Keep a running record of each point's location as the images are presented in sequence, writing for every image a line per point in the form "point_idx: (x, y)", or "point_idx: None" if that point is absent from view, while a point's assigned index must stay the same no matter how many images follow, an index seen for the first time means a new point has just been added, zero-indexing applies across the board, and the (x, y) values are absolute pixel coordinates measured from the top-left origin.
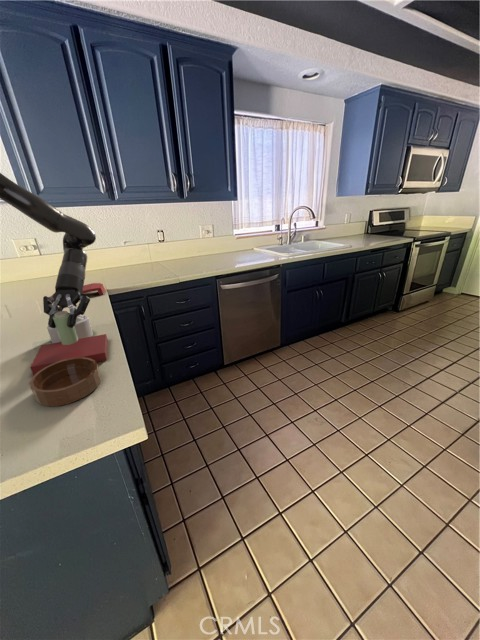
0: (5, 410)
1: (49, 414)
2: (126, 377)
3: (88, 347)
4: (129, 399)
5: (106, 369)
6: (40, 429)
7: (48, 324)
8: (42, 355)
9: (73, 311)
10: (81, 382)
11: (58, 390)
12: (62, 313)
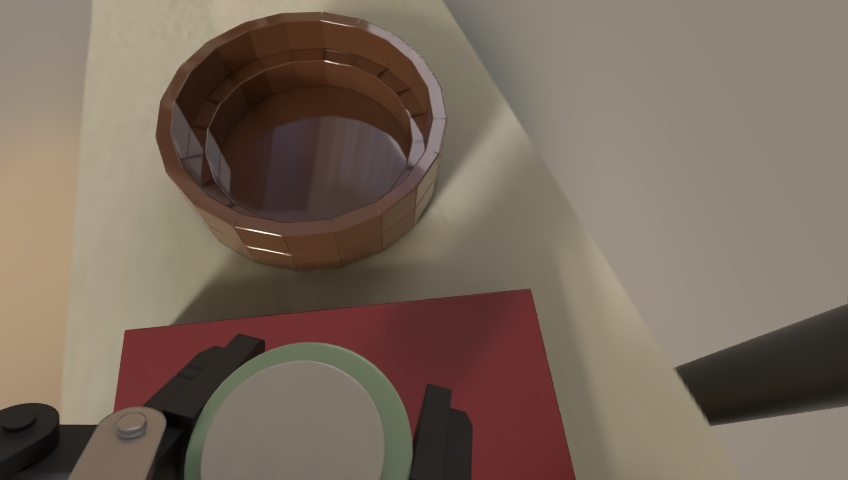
0: (510, 109)
1: None
2: (80, 159)
3: None
4: (100, 40)
5: (162, 251)
6: (365, 9)
7: (465, 416)
8: (520, 415)
9: (101, 433)
10: (227, 32)
11: (308, 12)
12: (267, 426)
